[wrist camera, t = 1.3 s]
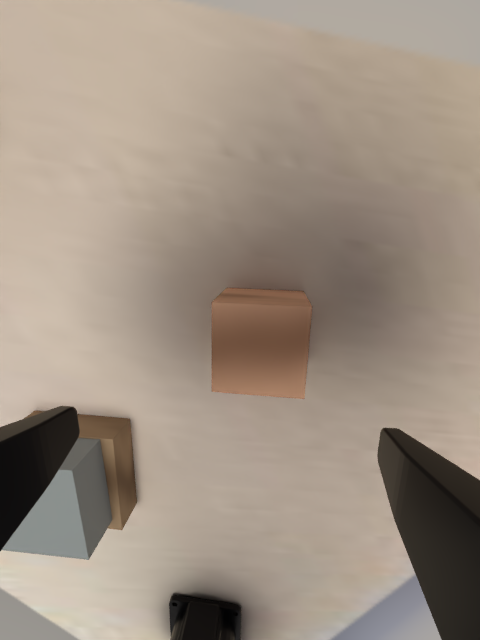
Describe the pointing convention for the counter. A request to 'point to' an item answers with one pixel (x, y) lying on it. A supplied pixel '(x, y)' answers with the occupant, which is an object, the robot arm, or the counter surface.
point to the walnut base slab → (113, 461)
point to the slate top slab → (69, 508)
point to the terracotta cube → (260, 342)
